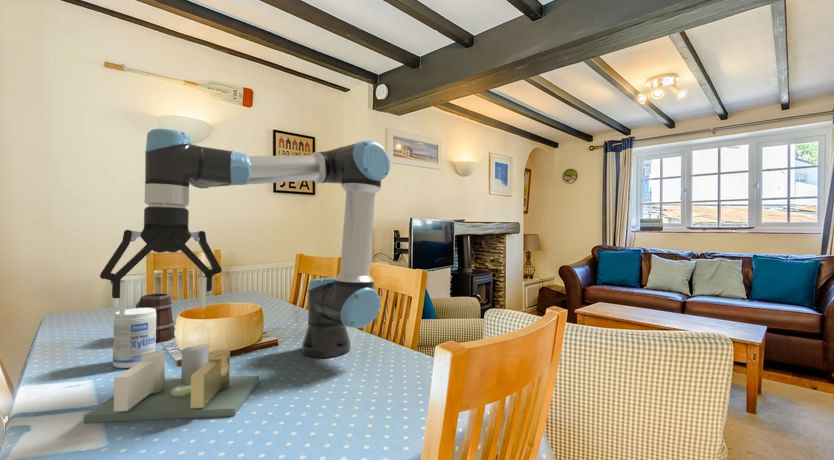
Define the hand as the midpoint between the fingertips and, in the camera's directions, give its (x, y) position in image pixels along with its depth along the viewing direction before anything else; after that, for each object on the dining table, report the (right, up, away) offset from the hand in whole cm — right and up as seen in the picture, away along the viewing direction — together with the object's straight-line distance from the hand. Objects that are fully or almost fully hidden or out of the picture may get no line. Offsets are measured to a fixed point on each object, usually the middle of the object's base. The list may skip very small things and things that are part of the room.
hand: (164, 310), depth 75 cm
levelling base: (-1, -22, +7) cm, 23 cm away
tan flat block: (+7, -20, +5) cm, 21 cm away
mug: (-40, -21, +51) cm, 68 cm away
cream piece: (-7, -20, +3) cm, 21 cm away
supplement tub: (-28, -21, +28) cm, 45 cm away
